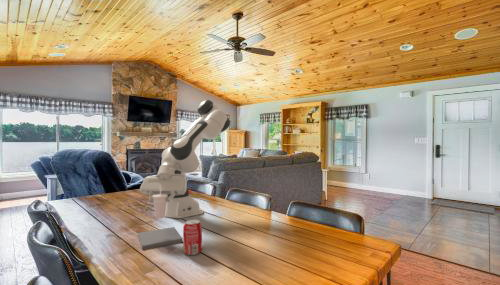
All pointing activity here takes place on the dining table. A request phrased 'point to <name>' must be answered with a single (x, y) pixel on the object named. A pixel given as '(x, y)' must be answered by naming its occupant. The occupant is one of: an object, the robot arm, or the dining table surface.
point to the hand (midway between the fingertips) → (159, 201)
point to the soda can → (192, 237)
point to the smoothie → (160, 204)
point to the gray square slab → (159, 238)
